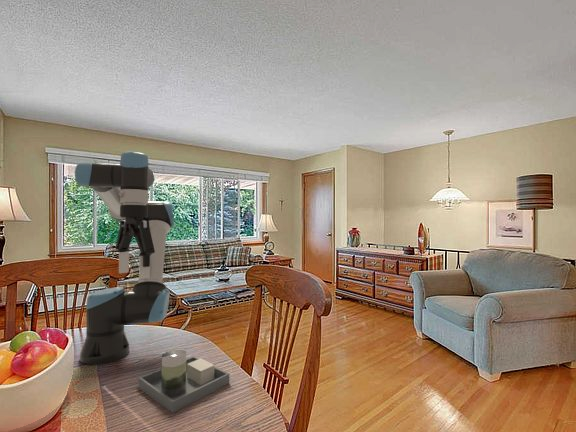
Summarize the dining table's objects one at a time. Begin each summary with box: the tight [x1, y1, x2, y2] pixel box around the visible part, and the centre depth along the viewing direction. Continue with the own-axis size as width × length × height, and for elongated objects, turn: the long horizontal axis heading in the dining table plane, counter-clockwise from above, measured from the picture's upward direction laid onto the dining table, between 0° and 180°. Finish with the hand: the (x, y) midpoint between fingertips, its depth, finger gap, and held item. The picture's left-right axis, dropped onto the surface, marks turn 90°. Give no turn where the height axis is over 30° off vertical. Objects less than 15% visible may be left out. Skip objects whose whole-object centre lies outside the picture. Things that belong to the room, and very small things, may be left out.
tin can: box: [161, 349, 187, 397], centre depth 86 cm, size 6×6×10 cm
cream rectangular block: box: [187, 358, 215, 385], centre depth 93 cm, size 7×5×4 cm
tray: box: [137, 355, 230, 414], centre depth 88 cm, size 18×18×4 cm
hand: (133, 275), depth 92 cm, fingers open, 13 cm apart
